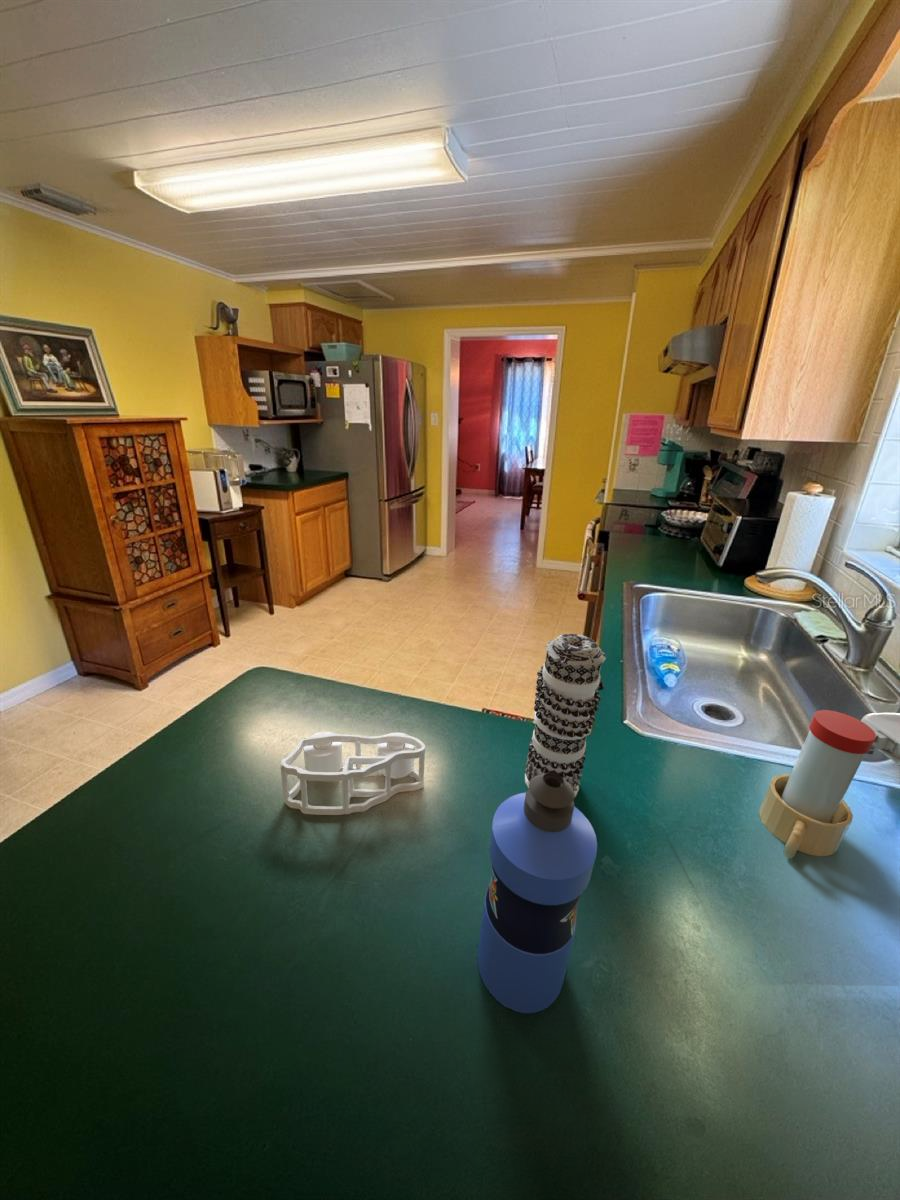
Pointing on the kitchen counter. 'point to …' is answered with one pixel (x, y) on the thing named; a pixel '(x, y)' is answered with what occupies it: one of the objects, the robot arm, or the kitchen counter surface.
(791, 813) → the mug
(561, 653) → the decorative candle
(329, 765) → the white open frame caddy
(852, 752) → the jar
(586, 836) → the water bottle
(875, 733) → the robot arm
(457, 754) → the kitchen counter surface
